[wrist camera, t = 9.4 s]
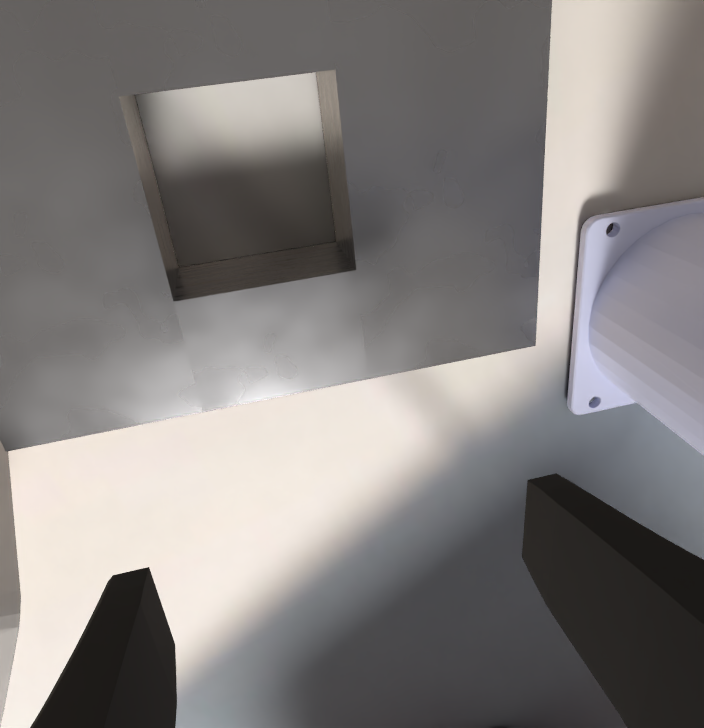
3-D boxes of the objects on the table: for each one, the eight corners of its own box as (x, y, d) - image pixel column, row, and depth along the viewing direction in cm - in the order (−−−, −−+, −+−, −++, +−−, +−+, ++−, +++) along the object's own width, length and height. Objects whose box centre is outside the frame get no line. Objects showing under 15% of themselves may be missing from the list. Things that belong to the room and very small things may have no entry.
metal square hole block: (500, -103, 16) (558, -136, 13) (495, 310, 21) (535, 345, 19) (-155, -46, 14) (-243, -73, 11) (33, 398, 19) (5, 451, 17)
